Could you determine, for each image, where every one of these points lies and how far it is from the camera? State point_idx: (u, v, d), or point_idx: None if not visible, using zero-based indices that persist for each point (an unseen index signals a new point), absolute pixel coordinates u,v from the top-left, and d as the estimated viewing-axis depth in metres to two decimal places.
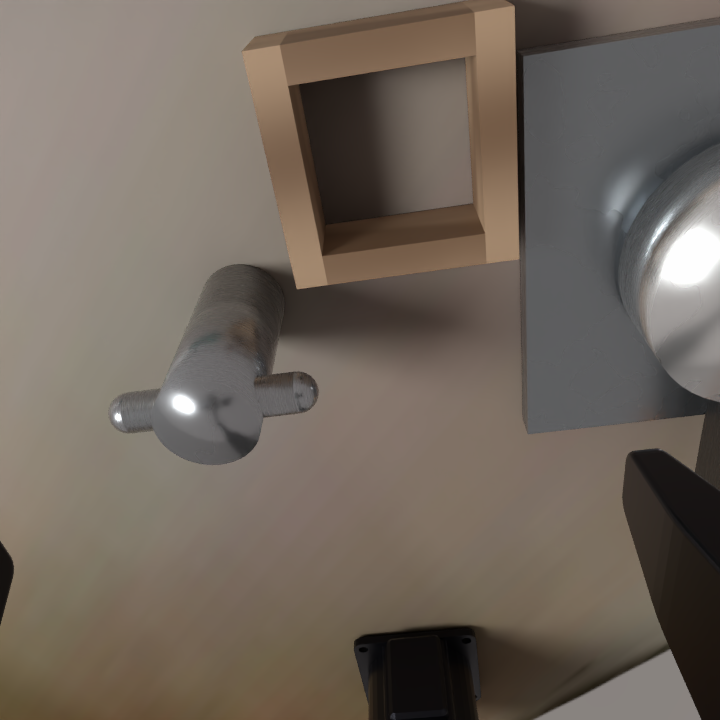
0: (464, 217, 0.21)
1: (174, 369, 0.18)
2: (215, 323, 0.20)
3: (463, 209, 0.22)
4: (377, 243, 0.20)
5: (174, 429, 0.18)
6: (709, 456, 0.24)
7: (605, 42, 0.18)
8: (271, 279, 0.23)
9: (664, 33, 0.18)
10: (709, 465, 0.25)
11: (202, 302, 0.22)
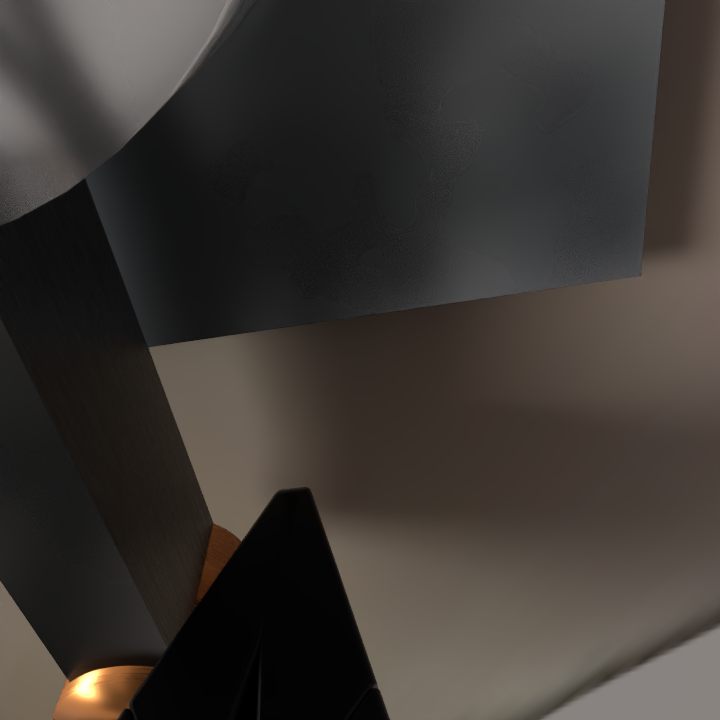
0: None
1: None
2: None
3: None
4: None
5: None
6: None
7: None
8: None
9: None
10: None
11: None
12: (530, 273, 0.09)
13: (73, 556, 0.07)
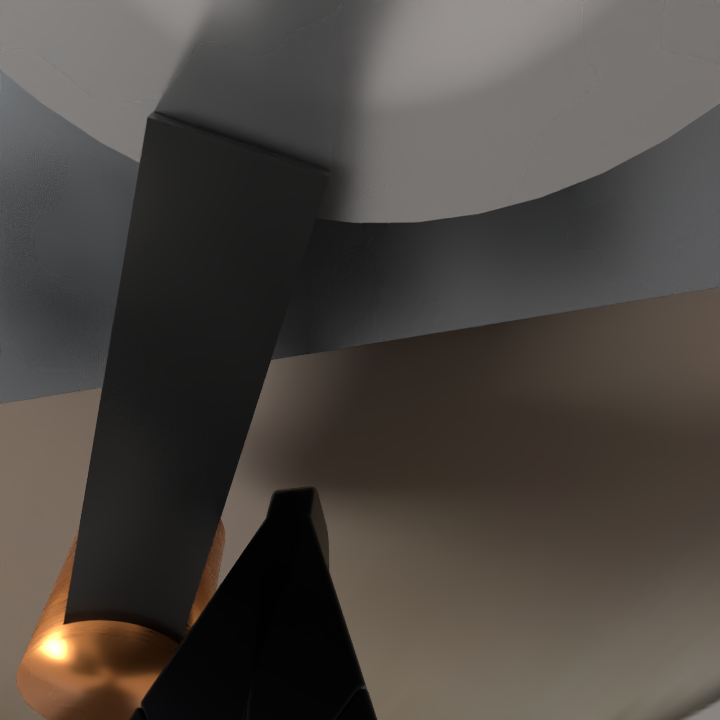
0: None
1: None
2: None
3: None
4: None
5: None
6: None
7: None
8: None
9: None
10: None
11: None
12: None
13: (174, 510, 0.07)
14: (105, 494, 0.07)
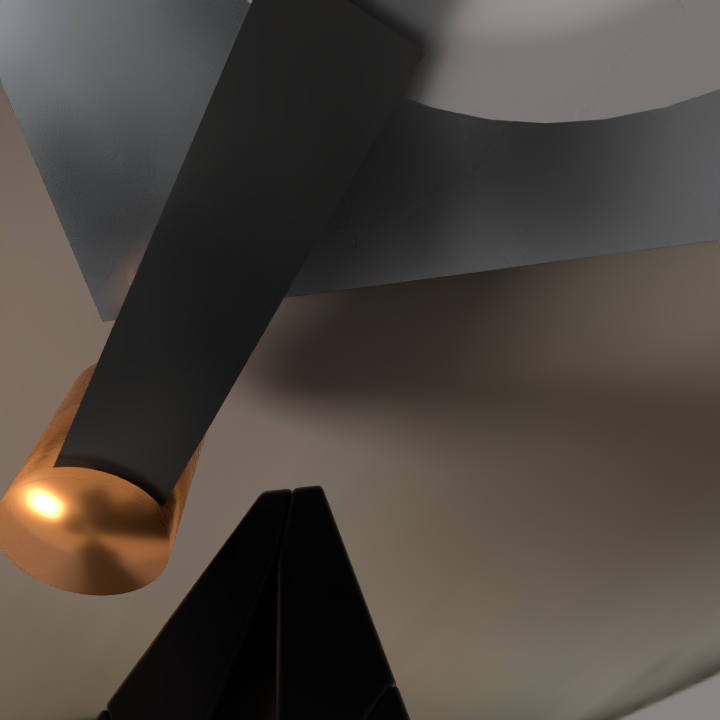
0: None
1: None
2: None
3: None
4: None
5: None
6: None
7: None
8: None
9: None
10: None
11: None
12: None
13: (192, 366, 0.07)
14: (130, 336, 0.07)
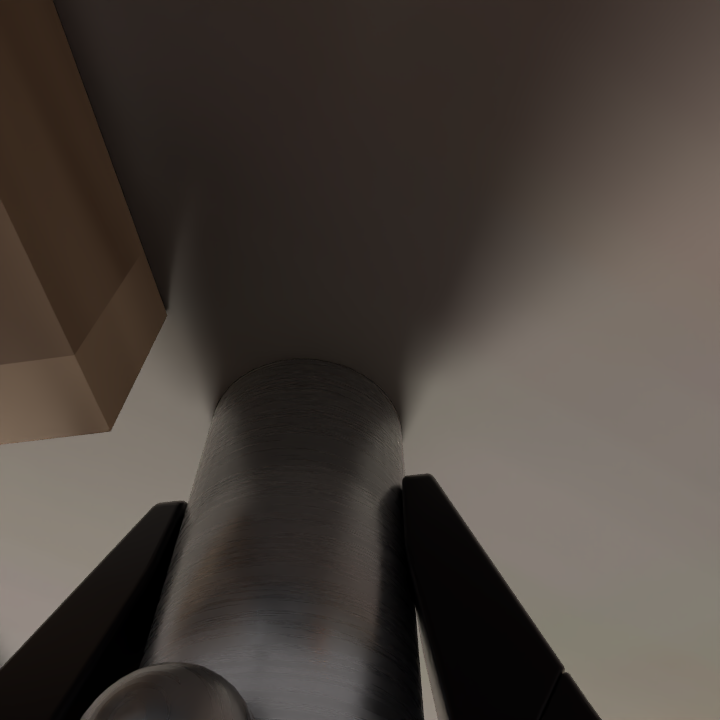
0: None
1: None
2: None
3: None
4: None
5: None
6: None
7: None
8: (235, 387, 0.10)
9: None
10: None
11: None
12: None
13: None
14: None
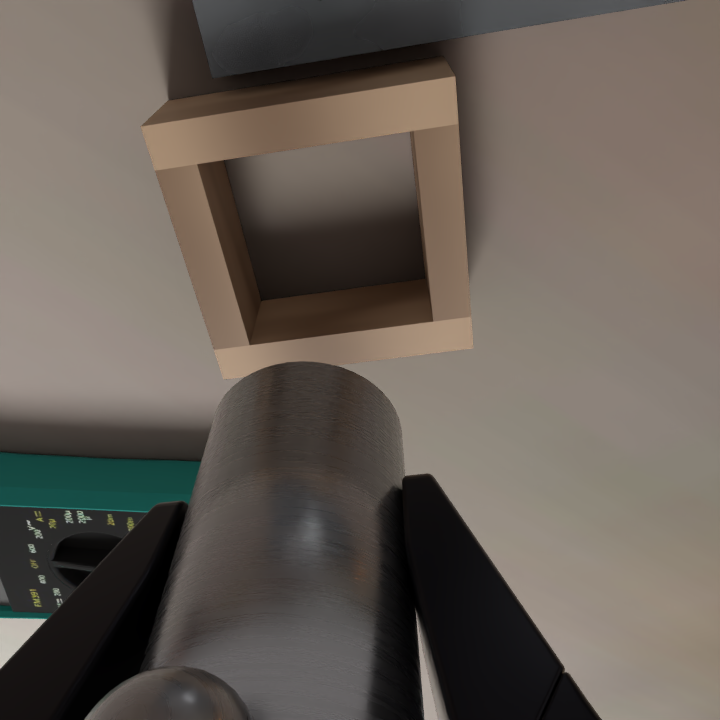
0: (411, 132, 0.16)
1: None
2: None
3: None
4: (425, 256, 0.17)
5: None
6: None
7: None
8: (235, 389, 0.10)
9: None
10: None
11: None
12: None
13: None
14: None
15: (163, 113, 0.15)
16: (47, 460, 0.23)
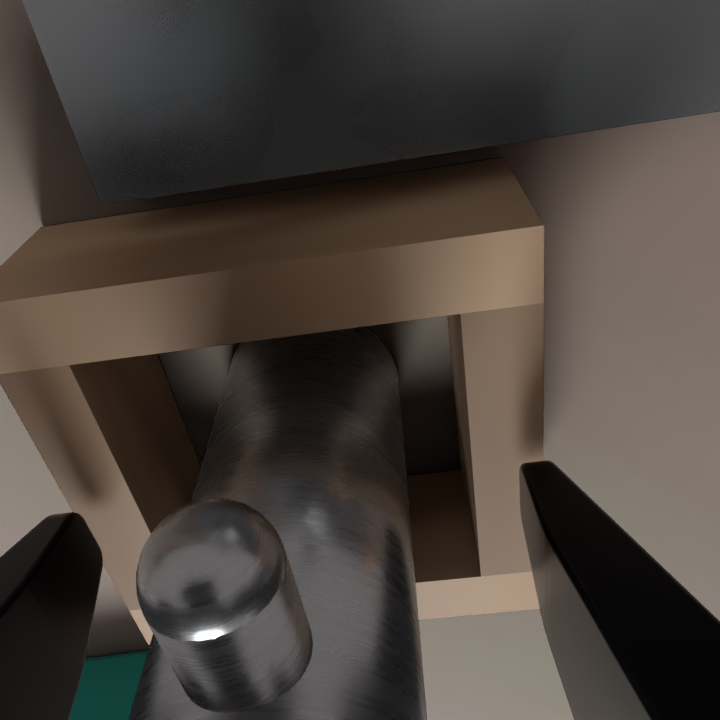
0: None
1: None
2: None
3: None
4: (471, 484, 0.10)
5: None
6: None
7: (31, 13, 0.08)
8: None
9: None
10: None
11: None
12: None
13: None
14: None
15: (14, 268, 0.09)
16: None
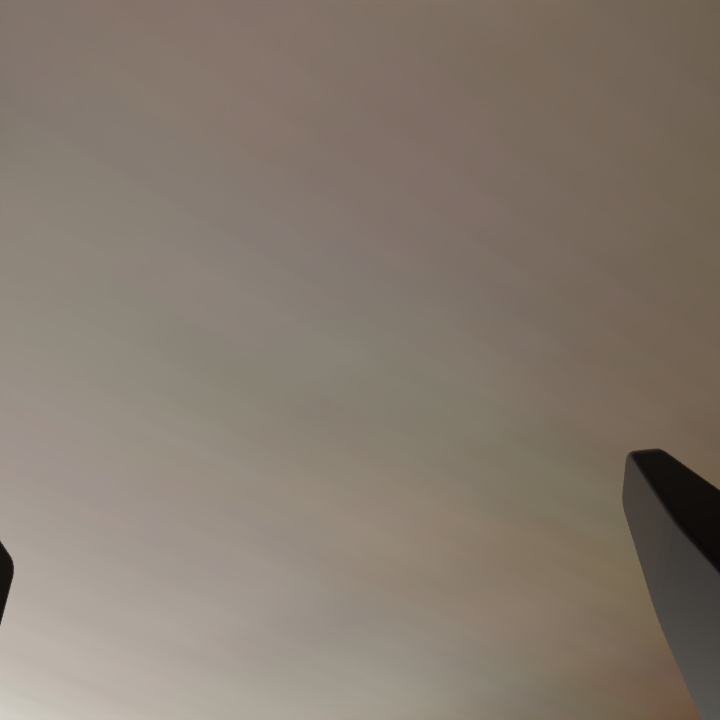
0: None
1: None
2: None
3: None
4: None
5: None
6: None
7: None
8: None
9: None
10: None
11: None
12: None
13: None
14: None
15: None
16: None
